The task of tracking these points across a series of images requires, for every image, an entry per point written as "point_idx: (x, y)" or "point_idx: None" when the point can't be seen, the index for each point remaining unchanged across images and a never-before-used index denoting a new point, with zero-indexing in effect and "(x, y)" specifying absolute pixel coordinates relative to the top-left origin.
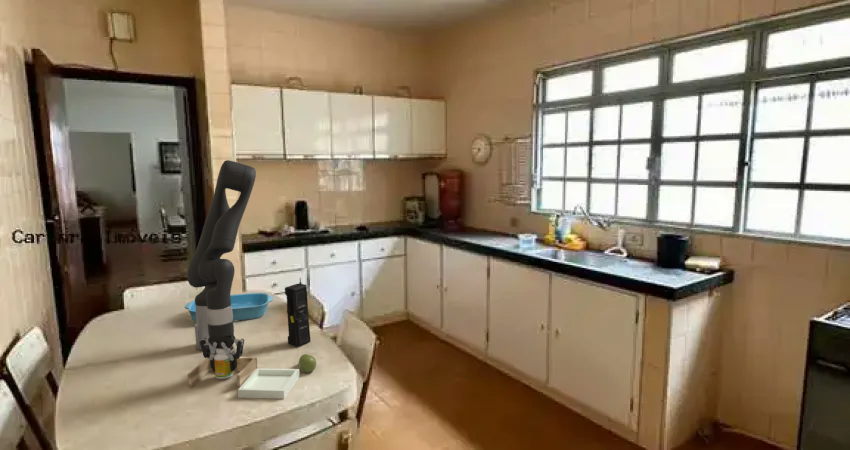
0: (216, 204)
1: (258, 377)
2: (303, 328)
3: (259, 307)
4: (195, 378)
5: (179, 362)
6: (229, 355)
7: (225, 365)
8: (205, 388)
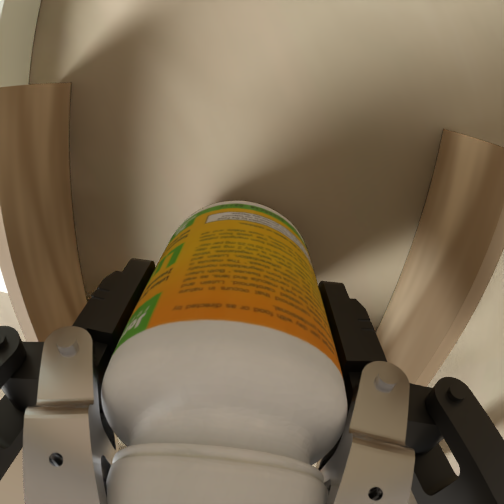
0: None
1: None
2: None
3: None
4: (450, 203)
5: (481, 389)
6: (75, 391)
7: (165, 276)
8: (339, 94)
